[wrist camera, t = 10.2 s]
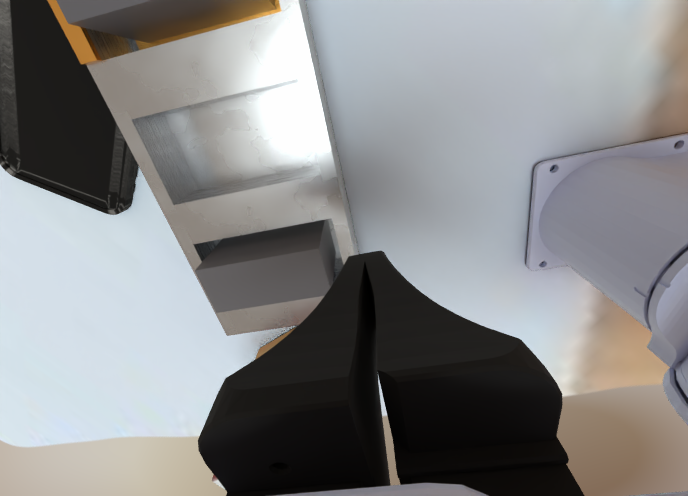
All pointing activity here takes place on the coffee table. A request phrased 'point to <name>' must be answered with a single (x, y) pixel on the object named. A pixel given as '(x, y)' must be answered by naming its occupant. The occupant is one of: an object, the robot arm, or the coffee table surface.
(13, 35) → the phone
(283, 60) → the rack
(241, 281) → the dark grey rectangular block
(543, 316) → the coffee table surface
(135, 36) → the dark grey block piece
